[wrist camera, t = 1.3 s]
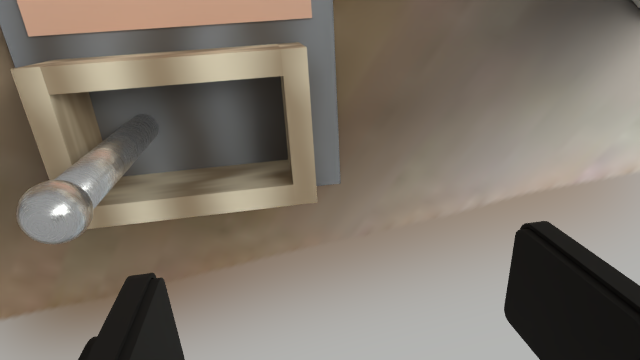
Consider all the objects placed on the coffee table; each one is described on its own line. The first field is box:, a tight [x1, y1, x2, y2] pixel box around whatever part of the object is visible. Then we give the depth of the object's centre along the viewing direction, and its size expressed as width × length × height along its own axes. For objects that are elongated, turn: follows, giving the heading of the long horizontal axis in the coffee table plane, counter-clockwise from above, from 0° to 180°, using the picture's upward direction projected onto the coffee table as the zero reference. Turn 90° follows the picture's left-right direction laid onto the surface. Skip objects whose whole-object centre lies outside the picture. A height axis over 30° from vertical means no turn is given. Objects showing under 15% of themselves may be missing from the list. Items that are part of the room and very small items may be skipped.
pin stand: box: [0, 0, 340, 244], centre depth 20 cm, size 21×26×16 cm
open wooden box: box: [10, 42, 317, 229], centre depth 26 cm, size 16×10×5 cm, turn 94°
